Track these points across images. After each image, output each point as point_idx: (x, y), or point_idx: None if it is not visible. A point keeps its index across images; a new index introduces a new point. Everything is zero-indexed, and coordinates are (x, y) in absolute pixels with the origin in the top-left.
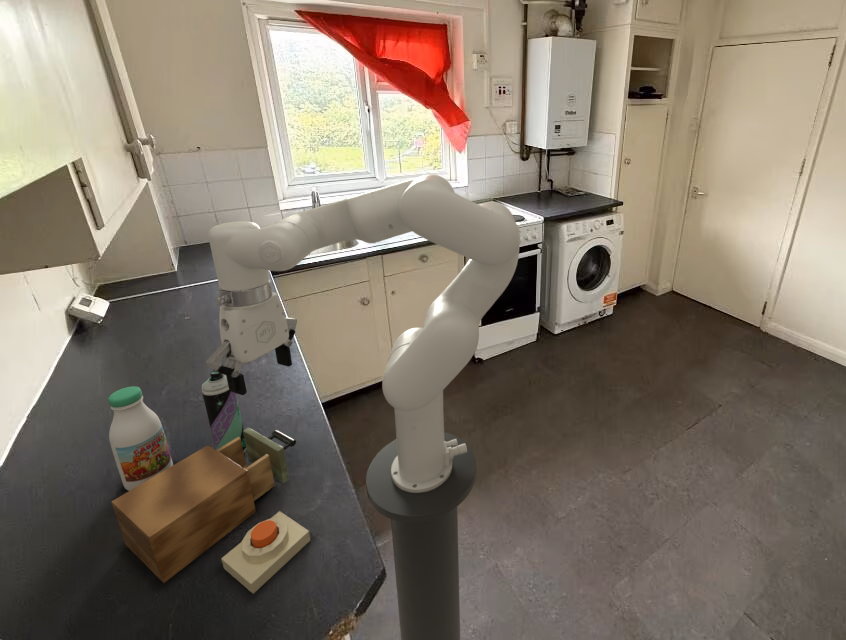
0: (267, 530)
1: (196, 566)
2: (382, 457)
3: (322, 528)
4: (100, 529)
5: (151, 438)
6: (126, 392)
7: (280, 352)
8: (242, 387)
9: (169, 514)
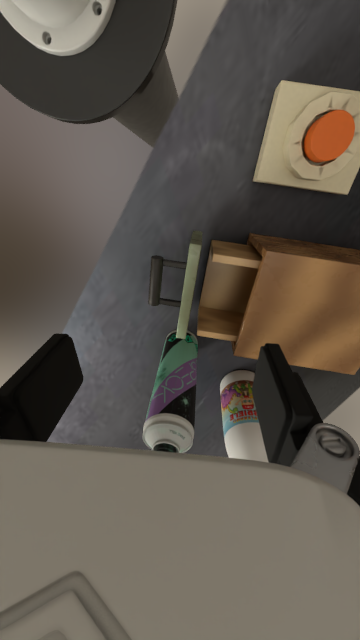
0: (332, 127)
1: (337, 233)
2: (80, 99)
3: (249, 87)
4: (305, 368)
5: (252, 420)
6: None
7: (46, 405)
8: (287, 365)
9: None
